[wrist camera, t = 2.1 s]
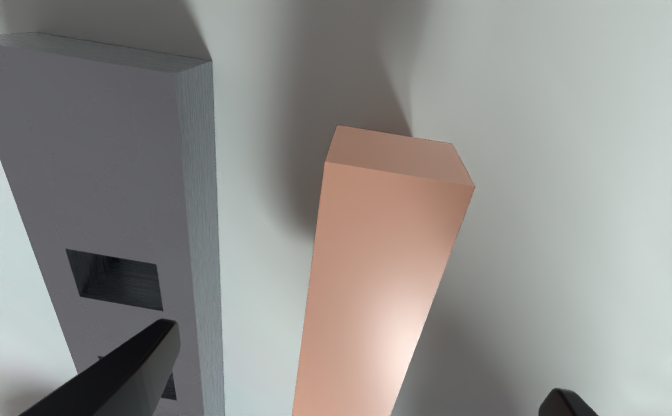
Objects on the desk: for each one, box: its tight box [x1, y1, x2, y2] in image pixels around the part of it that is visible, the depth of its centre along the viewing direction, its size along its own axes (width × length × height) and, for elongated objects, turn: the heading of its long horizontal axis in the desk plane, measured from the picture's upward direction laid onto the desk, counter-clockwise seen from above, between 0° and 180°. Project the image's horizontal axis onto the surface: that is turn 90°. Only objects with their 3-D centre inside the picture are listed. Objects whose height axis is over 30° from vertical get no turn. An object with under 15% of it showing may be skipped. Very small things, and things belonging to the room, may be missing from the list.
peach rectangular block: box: [292, 125, 475, 416], centre depth 12 cm, size 3×9×6 cm, turn 173°
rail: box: [0, 32, 225, 416], centre depth 16 cm, size 6×22×2 cm, turn 173°
